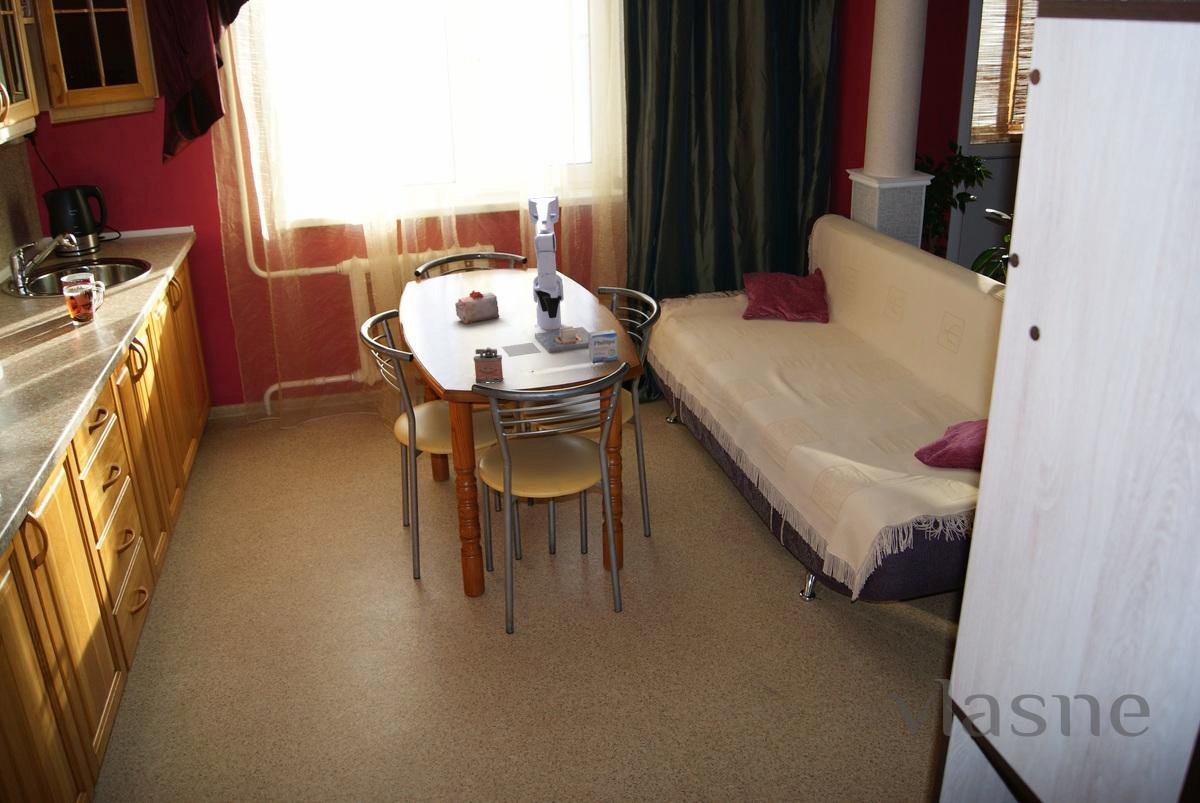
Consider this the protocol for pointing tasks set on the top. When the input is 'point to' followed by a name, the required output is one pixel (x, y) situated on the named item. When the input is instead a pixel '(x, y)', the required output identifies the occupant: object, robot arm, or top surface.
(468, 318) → the food item
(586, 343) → the hole plate
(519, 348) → the gray square plate
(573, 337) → the peg
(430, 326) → the top surface
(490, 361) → the lighter
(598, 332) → the medicine box
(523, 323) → the top surface
